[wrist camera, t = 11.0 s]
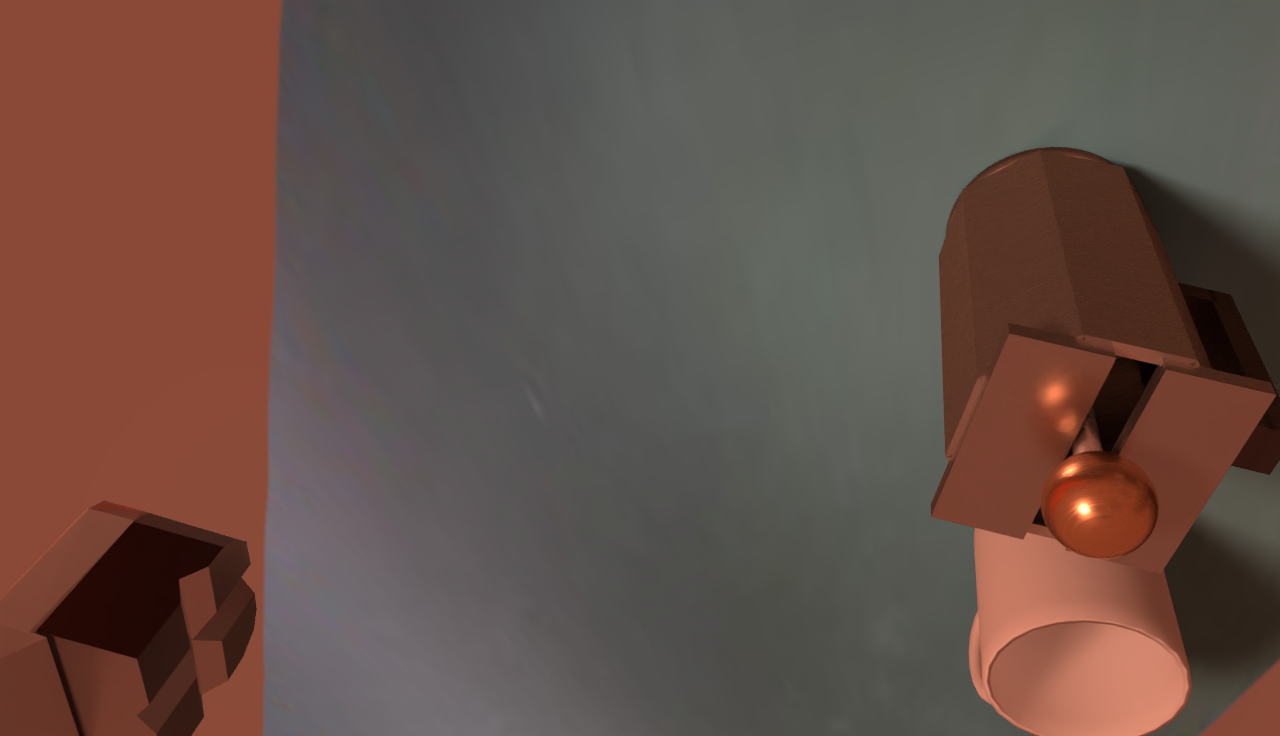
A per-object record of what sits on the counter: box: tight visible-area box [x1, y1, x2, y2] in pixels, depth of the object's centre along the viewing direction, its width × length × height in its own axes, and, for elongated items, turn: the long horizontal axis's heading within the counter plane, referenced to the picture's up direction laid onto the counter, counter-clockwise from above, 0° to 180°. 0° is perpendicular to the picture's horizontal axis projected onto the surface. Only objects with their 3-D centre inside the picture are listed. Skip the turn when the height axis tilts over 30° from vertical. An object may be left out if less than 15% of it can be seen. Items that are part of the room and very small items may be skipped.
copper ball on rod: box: [1041, 405, 1159, 560], centre depth 40 cm, size 7×7×18 cm
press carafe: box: [931, 147, 1280, 574], centre depth 43 cm, size 9×12×17 cm
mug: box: [969, 528, 1192, 736], centre depth 56 cm, size 10×12×12 cm
